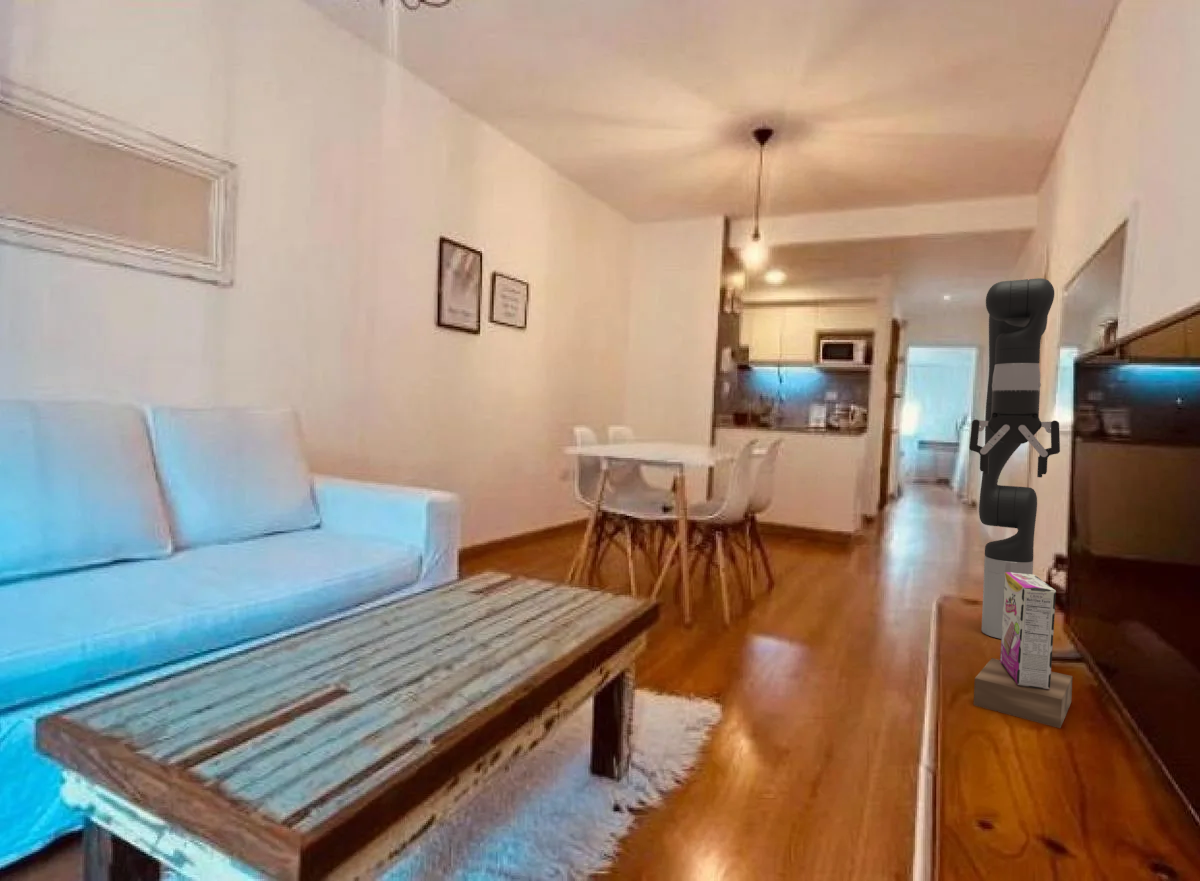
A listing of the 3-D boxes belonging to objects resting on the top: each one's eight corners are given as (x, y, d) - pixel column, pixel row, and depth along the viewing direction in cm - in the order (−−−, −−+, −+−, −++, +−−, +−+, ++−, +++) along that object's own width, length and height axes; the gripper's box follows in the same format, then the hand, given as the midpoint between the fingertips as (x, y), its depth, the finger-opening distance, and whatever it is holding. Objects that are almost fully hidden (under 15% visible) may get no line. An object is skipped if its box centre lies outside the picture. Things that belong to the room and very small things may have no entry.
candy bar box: (997, 662, 118) (1003, 570, 118) (1029, 666, 117) (1036, 574, 116) (1015, 686, 108) (1022, 585, 107) (1051, 691, 106) (1058, 589, 105)
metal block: (990, 685, 121) (991, 658, 121) (1071, 705, 113) (1072, 676, 113) (973, 707, 111) (974, 678, 111) (1060, 731, 103) (1061, 699, 103)
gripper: (1061, 389, 123) (1057, 476, 124) (972, 389, 131) (969, 471, 131) (1063, 388, 117) (1059, 480, 118) (970, 388, 124) (967, 475, 125)
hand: (1012, 475), depth 125 cm, fingers open, 8 cm apart
